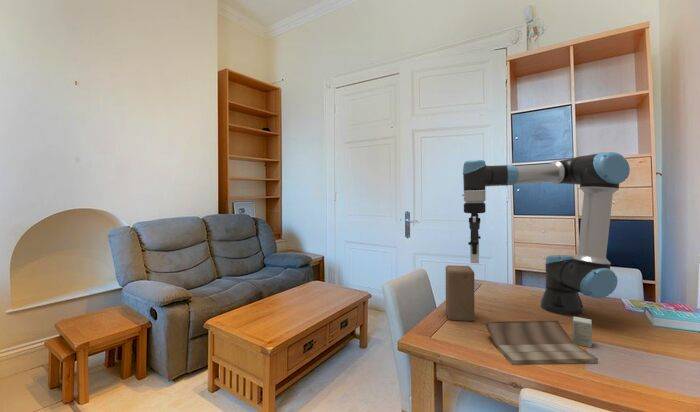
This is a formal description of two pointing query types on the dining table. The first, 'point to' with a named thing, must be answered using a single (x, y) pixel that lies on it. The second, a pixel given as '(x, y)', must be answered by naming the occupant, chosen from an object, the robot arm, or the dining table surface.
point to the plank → (527, 333)
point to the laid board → (546, 354)
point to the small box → (582, 331)
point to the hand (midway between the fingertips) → (475, 259)
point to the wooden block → (460, 293)
